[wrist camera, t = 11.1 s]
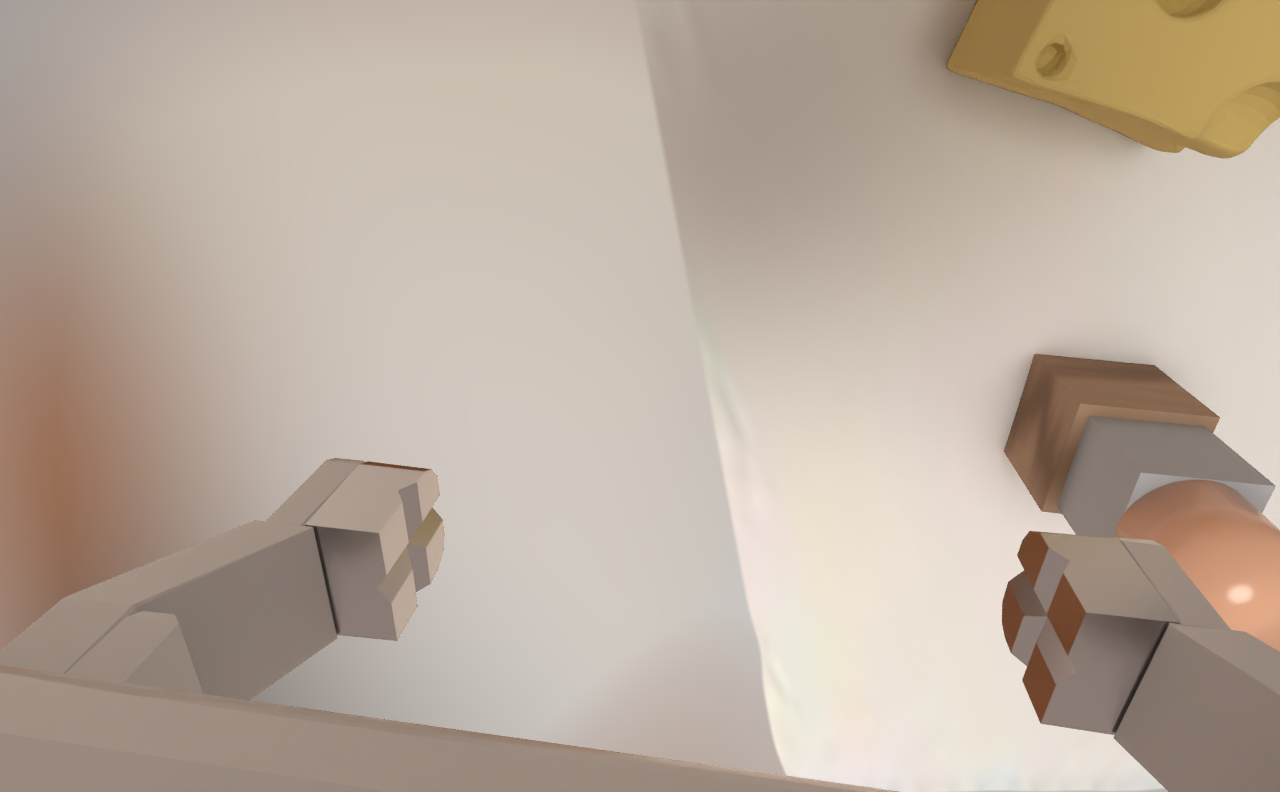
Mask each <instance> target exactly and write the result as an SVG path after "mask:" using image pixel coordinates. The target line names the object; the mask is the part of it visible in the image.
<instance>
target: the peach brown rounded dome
mask: <svg viewBox="0 0 1280 792" xmlns="http://www.w3.org/2000/svg"><path fill="white" fill-rule="evenodd" d="M1115 538H1128V539H1142V540H1153V541H1155V542H1157V543H1159V544H1161V545H1163V546H1164V547H1165V548H1166V549H1167V551H1168V552H1169V553H1170V554H1171V556H1172V557H1173V558H1174V559H1175V561H1176V562H1177V563H1178V564H1179V566H1180V567H1181V568H1182V569H1183V571H1184V572H1185V573H1186V574H1187V576H1188V577H1189V578H1190V579H1191V581H1192V582H1193V583H1194V584H1195V585H1196V587H1197V588H1198V589H1199V590H1200V592H1201V593H1202V594H1203V595H1204V597H1205V598H1206V599H1207V600H1208V602H1209V603H1210V604H1211V605H1212V607H1213V608H1214V609H1215V610H1216V612H1217V613H1218V614H1219V615H1220V617H1221V618H1222V619H1223V620H1224V622H1225V623H1226V624H1227V625H1228V627H1229V628H1230V629H1231V630H1236V631H1244V632H1247V633H1248V634H1250V635H1252V636H1254V637H1255V638H1257V639H1259V640H1260V641H1262V642H1264V643H1265V644H1267V645H1269V646H1271V647H1272V648H1274V649H1276V650H1277V651H1279V652H1280V530H1279V529H1278V528H1277V527H1276V526H1275V525H1274V524H1273V523H1271V522H1270V521H1269V520H1268V519H1267V518H1266V517H1265V516H1264V515H1263V514H1262V513H1260V512H1259V511H1258V510H1257V509H1256V508H1255V507H1254V506H1253V505H1252V504H1251V503H1250V502H1248V501H1247V500H1246V499H1245V498H1244V497H1243V496H1242V495H1241V494H1240V493H1239V492H1237V491H1236V490H1234V489H1233V488H1231V487H1229V486H1227V485H1225V484H1222V483H1219V482H1215V481H1210V480H1199V479H1198V480H1184V481H1178V482H1173V483H1169V484H1166V485H1163V486H1161V487H1158V488H1156V489H1154V490H1152V491H1150V492H1148V493H1146V494H1145V495H1143V496H1142V497H1140V498H1139V499H1138V500H1137V501H1135V502H1134V503H1133V504H1132V505H1131V506H1130V507H1129V508H1128V509H1127V510H1126V512H1125V513H1124V514H1123V516H1122V517H1121V519H1120V521H1119V523H1118V526H1117V528H1116V533H1115Z"/></svg>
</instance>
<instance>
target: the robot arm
mask: <svg viewBox="0 0 1280 792" xmlns="http://www.w3.org/2000/svg"><path fill="white" fill-rule="evenodd" d="M439 495H440V491H439V486H438V479H437V475H436V474H435V473H434V472H433V471H432V470H431V469H425V468H417V467H409V466H401V465H392V464H384V463H376V462H364V461H360V460H350V459H339V458H334V459H329V460H326V461H325V462H324V463H323V464H322V465H321V466H320V467H319V468H318V469H317V470H316V471H315V472H314V473H313V474H312V475H311V476H310V477H309V478H308V479H307V480H306V481H305V482H304V483H303V484H302V485H301V486H300V487H299V488H298V489H297V490H296V491H295V492H294V493H293V494H292V495H291V496H290V497H289V498H288V499H287V500H286V501H285V502H284V503H283V504H282V506H280V507H279V508H278V509H277V511H275V513H273V514H272V516H270V518H269V519H267V521H252V522H250V523H248V524H245V525H242V526H240V527H237V528H235V529H232V530H230V531H228V532H225V533H223V534H220V535H218V536H215V537H213V538H210V539H208V540H205V541H203V542H201V543H198V544H195V545H193V546H190V547H188V548H186V549H183V550H181V551H178V552H176V553H173V554H171V555H168V556H166V557H163V558H161V559H158V560H156V561H153V562H151V563H149V564H146V565H144V566H141V567H139V568H136V569H134V570H131V571H129V572H126V573H124V574H121V575H119V576H116V577H114V578H111V579H109V580H107V581H104V582H101V583H99V584H97V585H94V586H92V587H89V588H87V589H84V590H82V591H79V592H77V593H74V594H72V595H69V596H67V597H65V598H63V599H62V600H61V601H59V602H58V603H57V604H56V605H55V606H54V607H52V608H51V609H50V610H49V611H47V612H46V613H45V614H44V615H43V616H41V617H40V618H39V619H38V620H37V621H35V622H34V623H33V624H32V625H31V626H29V627H28V628H27V629H26V630H24V631H23V632H22V633H21V634H20V635H18V636H17V637H16V638H15V639H14V640H12V641H11V642H10V643H9V644H8V645H6V646H5V647H4V648H3V649H2V650H0V792H898V791H891V790H884V789H877V788H870V787H863V786H856V785H849V784H842V783H835V782H828V781H821V780H814V779H807V778H800V777H792V776H785V775H778V774H771V773H764V772H757V771H749V770H742V769H735V768H728V767H720V766H714V765H706V764H699V763H692V762H685V761H678V760H671V759H663V758H656V757H649V756H642V755H634V754H627V753H620V752H613V751H606V750H599V749H591V748H584V747H577V746H570V745H563V744H556V743H549V742H542V741H535V740H527V739H520V738H513V737H506V736H499V735H492V734H485V733H478V732H471V731H463V730H456V729H449V728H442V727H434V726H428V725H420V724H413V723H406V722H399V721H392V720H385V719H378V718H371V717H364V716H357V715H349V714H342V713H335V712H328V711H321V710H314V709H307V708H300V707H292V706H285V705H278V704H271V703H263V702H256V701H250V699H252V698H253V697H255V696H256V695H257V694H259V693H260V692H262V691H263V690H264V689H266V688H267V687H269V686H270V685H271V684H273V683H274V682H276V681H277V680H279V679H280V678H282V677H283V676H284V675H286V674H287V673H289V672H290V671H291V670H293V669H294V668H296V667H297V666H299V665H300V664H301V663H303V662H304V661H306V660H307V659H308V658H310V657H311V656H312V655H314V654H315V653H317V652H318V651H320V650H321V649H323V648H324V647H325V646H327V645H328V644H330V643H331V642H333V641H334V640H335V639H337V635H343V636H353V637H364V638H373V639H384V640H394V641H397V640H398V639H399V637H400V635H401V634H402V632H403V630H404V629H405V627H406V625H407V623H408V622H409V620H410V618H411V617H412V615H413V613H414V611H415V610H416V608H417V606H418V605H417V597H416V592H417V591H419V590H420V589H422V588H424V587H425V586H427V585H429V584H430V583H431V582H432V580H433V578H434V576H435V574H436V572H437V571H438V568H439V565H440V561H441V558H442V554H443V550H444V526H443V520H442V518H441V517H440V516H439V515H438V514H437V513H436V511H435V510H434V509H433V508H432V506H433V505H434V503H435V502H436V500H437V499H438V497H439ZM1017 556H1018V558H1019V560H1020V562H1021V564H1022V566H1023V568H1024V571H1023V572H1021V573H1020V574H1018V575H1017V576H1016V577H1014V578H1013V579H1011V580H1010V581H1009V582H1008V584H1007V588H1006V591H1005V595H1004V598H1003V602H1002V625H1003V630H1004V635H1005V639H1006V642H1007V644H1008V647H1009V649H1010V652H1011V653H1012V654H1013V655H1014V656H1015V657H1017V658H1018V659H1019V660H1020V661H1021V662H1023V663H1024V664H1025V665H1026V666H1027V669H1026V671H1025V674H1024V677H1023V679H1022V681H1023V683H1024V685H1025V688H1026V690H1027V692H1028V695H1029V697H1030V700H1031V702H1032V704H1033V707H1034V709H1035V711H1036V714H1037V716H1038V718H1039V721H1040V723H1041V724H1047V725H1053V726H1060V727H1066V728H1073V729H1079V730H1086V731H1092V732H1099V733H1105V734H1112V735H1115V736H1114V739H1115V740H1116V741H1117V742H1118V743H1119V744H1120V745H1121V746H1122V747H1123V748H1124V749H1125V750H1126V751H1127V752H1128V753H1129V754H1131V755H1132V756H1133V757H1134V758H1135V759H1136V760H1137V761H1138V762H1139V763H1140V764H1141V765H1142V766H1143V767H1144V768H1145V769H1146V770H1147V771H1148V772H1149V773H1150V774H1151V775H1152V776H1153V777H1154V778H1155V779H1156V780H1157V781H1158V782H1159V783H1160V784H1161V785H1162V786H1163V787H1164V788H1165V789H1166V790H1168V791H1169V792H1280V652H1279V651H1277V650H1276V649H1274V648H1272V647H1271V646H1269V645H1267V644H1265V643H1264V642H1262V641H1260V640H1259V639H1257V638H1255V637H1254V636H1252V635H1250V634H1248V633H1247V632H1244V631H1236V630H1231V629H1230V628H1229V627H1228V625H1227V624H1226V623H1225V622H1224V620H1223V619H1222V618H1221V617H1220V615H1219V614H1218V613H1217V612H1216V610H1215V609H1214V608H1213V607H1212V605H1211V604H1210V603H1209V602H1208V600H1207V599H1206V598H1205V597H1204V595H1203V594H1202V593H1201V592H1200V590H1199V589H1198V588H1197V587H1196V585H1195V584H1194V583H1193V582H1192V581H1191V579H1190V578H1189V577H1188V576H1187V574H1186V573H1185V572H1184V571H1183V569H1182V568H1181V567H1180V566H1179V564H1178V563H1177V562H1176V561H1175V559H1174V558H1173V557H1172V556H1171V554H1170V553H1169V552H1168V551H1167V549H1166V548H1165V547H1164V546H1163V545H1161V544H1159V543H1157V542H1155V541H1153V540H1142V539H1128V538H1114V537H1111V538H1104V537H1093V536H1081V535H1070V534H1058V533H1047V532H1036V531H1029V532H1028V534H1027V535H1026V536H1025V538H1024V539H1023V540H1022V543H1021V546H1020V549H1019V552H1018V555H1017Z"/></svg>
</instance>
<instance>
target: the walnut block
mask: <svg viewBox="0 0 1280 792" xmlns="http://www.w3.org/2000/svg"><path fill="white" fill-rule="evenodd" d="M1088 416H1100V417H1110V418H1121V419H1132V420H1143V421H1153V422H1164V423H1175V424H1185V425H1196V426H1205V427H1206V428H1207V429H1208V430H1210V431H1211V432H1212V433H1213V432H1214V430H1215V427H1216V425H1217V423H1218V421H1219V419H1220V417H1219V416H1217V415H1216V414H1215V413H1214V412H1212V411H1211V410H1210V409H1209V408H1207V407H1206V406H1205V405H1204V404H1202V403H1201V402H1200V401H1199V400H1197V399H1196V398H1195V397H1194V396H1192V395H1191V394H1190V393H1188V392H1187V391H1186V390H1185V389H1183V388H1182V387H1181V386H1180V385H1178V384H1177V383H1176V382H1175V381H1173V380H1172V379H1171V378H1170V377H1168V376H1167V375H1166V374H1165V373H1163V372H1162V371H1161V370H1159V369H1158V368H1157V367H1156V366H1154V365H1145V364H1134V363H1124V362H1113V361H1103V360H1092V359H1082V358H1071V357H1061V356H1050V355H1040V354H1035V355H1034V358H1033V361H1032V365H1031V368H1030V371H1029V374H1028V377H1027V380H1026V384H1025V387H1024V390H1023V393H1022V396H1021V399H1020V402H1019V406H1018V409H1017V412H1016V415H1015V418H1014V421H1013V425H1012V428H1011V431H1010V434H1009V437H1008V440H1007V443H1006V447H1005V450H1004V452H1005V454H1006V455H1007V457H1008V458H1009V460H1010V462H1011V463H1012V465H1013V466H1014V468H1015V470H1016V471H1017V473H1018V474H1019V476H1020V478H1021V479H1022V481H1023V482H1024V484H1025V486H1026V487H1027V489H1028V490H1029V492H1030V494H1031V495H1032V497H1033V498H1034V500H1035V502H1036V503H1037V505H1038V506H1039V508H1040V510H1041V511H1043V512H1052V513H1060V514H1062V512H1061V511H1060V509H1059V508H1058V506H1057V503H1058V501H1059V498H1060V495H1061V492H1062V489H1063V487H1064V484H1065V481H1066V478H1067V475H1068V472H1069V470H1070V467H1071V464H1072V461H1073V458H1074V455H1075V453H1076V450H1077V447H1078V444H1079V441H1080V439H1081V436H1082V433H1083V430H1084V427H1085V424H1086V422H1087V419H1088Z"/></svg>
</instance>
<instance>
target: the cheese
mask: <svg viewBox="0 0 1280 792" xmlns="http://www.w3.org/2000/svg"><path fill="white" fill-rule="evenodd" d="M947 68H948V69H949V70H950V71H953V72H955V73H958V74H961V75H964V76H967V77H970V78H973V79H976V80H979V81H982V82H985V83H989V84H992V85H995V86H998V87H1001V88H1004V89H1007V90H1010V91H1013V92H1016V93H1019V94H1022V95H1026V96H1029V97H1033V98H1036V99H1040V100H1043V101H1047V102H1050V103H1053V104H1056V105H1059V106H1062V107H1064V108H1067V109H1069V110H1071V111H1073V112H1076V113H1077V114H1078V115H1080V116H1082V117H1084V118H1087V119H1089V120H1092V121H1094V122H1097V123H1099V124H1101V125H1104V126H1106V127H1108V128H1110V129H1113V130H1115V131H1117V132H1119V133H1121V134H1123V135H1125V136H1127V137H1129V138H1131V139H1133V140H1135V141H1137V142H1139V143H1141V144H1143V145H1145V146H1148V147H1150V148H1152V149H1155V150H1159V151H1163V152H1172V153H1178V152H1180V151H1181V150H1182V149H1183V148H1184V147H1187V148H1189V149H1192V150H1195V151H1197V152H1200V153H1202V154H1205V155H1209V156H1213V157H1219V158H1231V157H1234V156H1236V155H1239V154H1241V153H1243V152H1244V151H1246V150H1247V149H1248V148H1249V147H1250V146H1251V144H1252V143H1253V142H1254V141H1255V140H1256V138H1257V137H1258V136H1259V135H1260V134H1261V133H1262V132H1263V131H1264V130H1265V129H1266V128H1267V127H1268V126H1269V125H1270V124H1271V123H1273V122H1274V121H1275V120H1277V119H1278V118H1280V0H978V1H977V3H976V5H975V7H974V9H973V11H972V13H971V15H970V18H969V20H968V22H967V24H966V26H965V28H964V30H963V32H962V34H961V36H960V38H959V40H958V42H957V44H956V46H955V49H954V51H953V53H952V55H951V57H950V59H949V61H948V63H947Z"/></svg>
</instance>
